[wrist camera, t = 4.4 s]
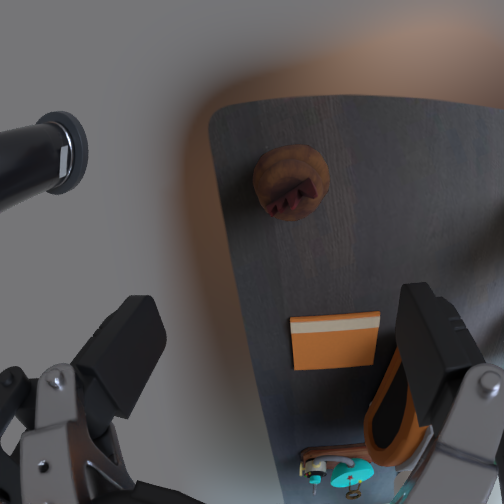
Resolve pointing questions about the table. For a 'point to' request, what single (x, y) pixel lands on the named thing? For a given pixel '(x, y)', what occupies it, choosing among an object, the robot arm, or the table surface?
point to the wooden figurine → (291, 181)
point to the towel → (334, 340)
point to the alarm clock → (395, 422)
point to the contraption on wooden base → (337, 465)
